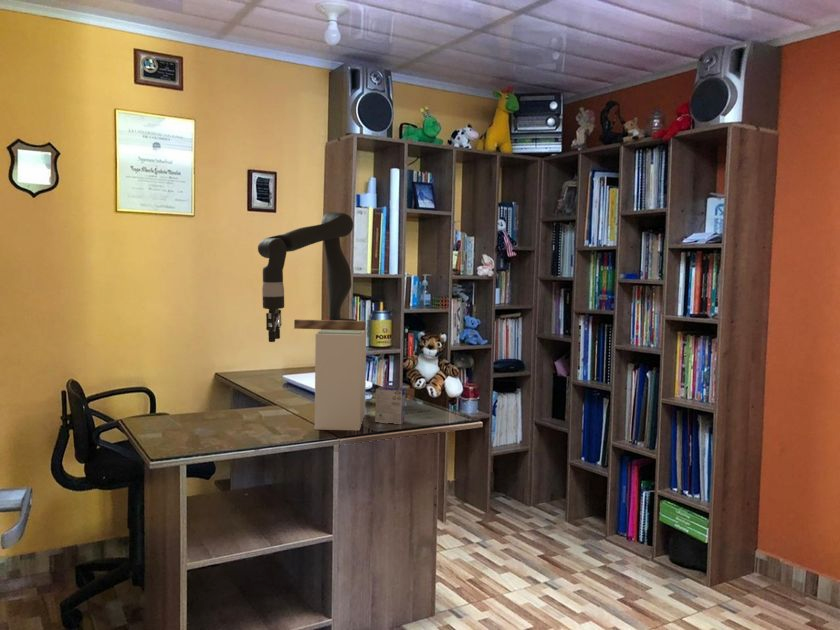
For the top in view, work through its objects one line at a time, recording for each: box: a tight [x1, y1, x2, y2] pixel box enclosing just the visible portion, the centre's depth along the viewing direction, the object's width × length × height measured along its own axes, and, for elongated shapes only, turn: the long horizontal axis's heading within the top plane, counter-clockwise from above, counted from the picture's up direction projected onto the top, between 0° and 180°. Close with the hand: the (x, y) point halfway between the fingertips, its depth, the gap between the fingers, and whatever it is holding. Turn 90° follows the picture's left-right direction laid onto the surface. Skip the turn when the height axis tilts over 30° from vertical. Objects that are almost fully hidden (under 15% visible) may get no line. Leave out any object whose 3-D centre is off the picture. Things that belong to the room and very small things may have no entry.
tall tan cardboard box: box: [314, 328, 367, 431], centre depth 244 cm, size 15×24×32 cm, turn 0°
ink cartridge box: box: [374, 380, 406, 425], centre depth 245 cm, size 10×6×14 cm, turn 78°
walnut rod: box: [293, 319, 367, 330], centre depth 248 cm, size 25×3×3 cm, turn 90°
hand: (274, 340), depth 248 cm, fingers open, 8 cm apart
